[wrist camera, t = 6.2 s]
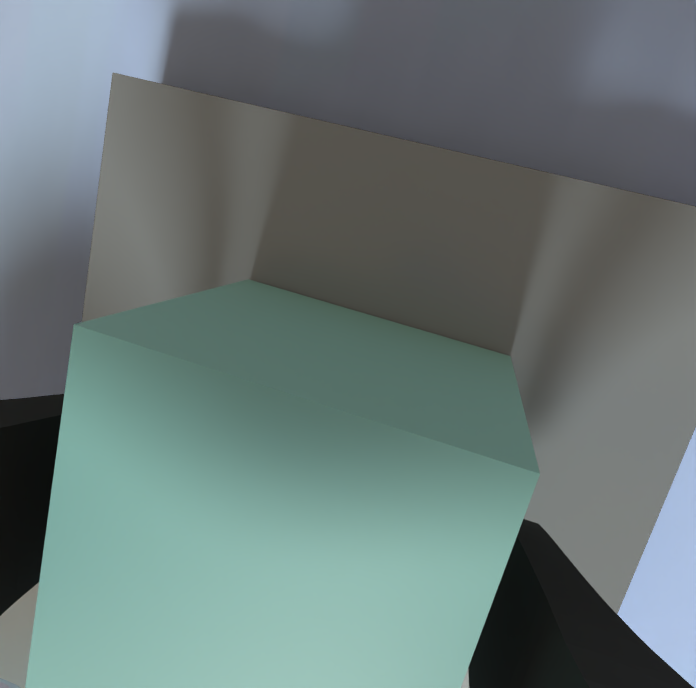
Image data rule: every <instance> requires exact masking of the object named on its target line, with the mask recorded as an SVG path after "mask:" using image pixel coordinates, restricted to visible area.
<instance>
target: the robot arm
mask: <svg viewBox="0 0 696 688" xmlns="http://www.w3.org/2000/svg"><path fill="white" fill-rule="evenodd" d="M63 401H64V394H60V395H50V396H40V397H31V398H20V399H7V400H0V616H1V615H2V614H3V613H4V612H5V611H6V610H7V609H8V608H9V607H11V606H12V605H13V604H14V603H15V602H16V601H17V600H18V599H20V598H21V597H22V596H23V595H24V594H26V593H27V592H28V591H29V590H30V589H32V588H33V587H34V586H35V585H36V584H37V583H39V580H40V572H41V565H42V557H43V550H44V542H45V535H46V528H47V520H48V513H49V505H50V498H51V490H52V483H53V475H54V468H55V460H56V453H57V445H58V438H59V431H60V423H61V416H62V408H63ZM468 673H469V688H694V687H692V686H691V685H690V684H689V683H688V682H687V681H686V680H684V679H683V678H682V677H681V676H680V675H679V674H678V673H677V672H676V671H674V670H673V669H672V668H671V667H670V666H669V665H668V664H667V663H666V662H665V661H663V660H662V659H661V658H660V657H659V656H658V655H657V654H656V653H655V652H654V651H652V650H651V649H650V648H649V647H648V646H647V645H646V644H645V643H644V642H643V641H642V640H641V639H640V638H639V637H638V636H637V635H636V634H635V633H634V632H633V631H632V630H631V629H630V628H629V627H628V625H627V624H626V623H625V622H624V621H623V620H622V619H621V618H620V617H619V616H618V615H617V614H616V613H615V612H614V611H613V610H612V609H611V608H610V606H609V605H608V604H607V603H606V602H605V601H604V600H603V599H602V597H601V596H600V595H599V594H598V593H597V592H596V591H595V590H594V588H593V587H592V586H591V585H590V584H589V583H588V581H587V580H586V579H585V578H584V577H583V575H582V574H581V573H580V572H579V571H578V569H577V568H576V567H575V566H574V565H573V563H572V562H571V561H570V560H569V558H568V557H567V556H566V555H565V554H564V552H563V551H562V550H561V549H560V547H559V546H558V545H557V544H556V543H555V541H554V540H553V539H552V538H551V537H550V535H549V534H548V533H547V532H546V531H545V530H544V529H543V528H542V527H541V526H540V525H539V524H538V523H535V522H532V521H529V520H525V519H523V521H522V524H521V527H520V529H519V532H518V535H517V538H516V540H515V543H514V546H513V548H512V551H511V554H510V556H509V559H508V562H507V565H506V567H505V570H504V573H503V575H502V578H501V581H500V583H499V586H498V589H497V591H496V594H495V597H494V600H493V602H492V605H491V608H490V610H489V613H488V616H487V618H486V621H485V624H484V626H483V629H482V632H481V635H480V637H479V640H478V643H477V645H476V648H475V651H474V653H473V656H472V659H471V662H470V664H469V667H468ZM0 688H20V687H19V686H18V685H16V684H13V683H11V682H9V681H6V680H4V679H1V678H0Z"/></svg>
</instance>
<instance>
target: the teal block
mask: <svg viewBox="0 0 696 688" xmlns="http://www.w3.org/2000/svg"><path fill="white" fill-rule="evenodd" d="M539 476H540V472H539V468H538V464H537V460H536V456H535V452H534V448H533V444H532V440H531V436H530V432H529V428H528V424H527V420H526V416H525V412H524V408H523V404H522V400H521V396H520V392H519V388H518V384H517V380H516V376H515V372H514V368H513V364H512V360H511V356H508V355H505V354H502V353H498V352H495V351H491V350H488V349H484V348H481V347H478V346H474V345H471V344H467V343H464V342H461V341H457V340H454V339H450V338H447V337H444V336H440V335H437V334H433V333H430V332H426V331H423V330H420V329H416V328H413V327H409V326H406V325H403V324H399V323H396V322H392V321H389V320H386V319H382V318H379V317H375V316H372V315H368V314H365V313H362V312H358V311H355V310H351V309H348V308H345V307H341V306H338V305H334V304H331V303H328V302H324V301H321V300H317V299H314V298H311V297H307V296H304V295H300V294H297V293H293V292H290V291H287V290H283V289H280V288H276V287H273V286H270V285H266V284H263V283H259V282H256V281H253V280H249V279H248V280H244V281H240V282H236V283H232V284H228V285H224V286H220V287H217V288H213V289H209V290H205V291H201V292H197V293H193V294H189V295H186V296H182V297H178V298H174V299H170V300H166V301H162V302H158V303H155V304H151V305H147V306H143V307H139V308H135V309H131V310H127V311H124V312H120V313H116V314H112V315H108V316H104V317H100V318H96V319H93V320H89V321H85V322H81V323H77V324H74V326H73V333H72V341H71V348H70V356H69V363H68V371H67V378H66V386H65V393H64V401H63V408H62V416H61V423H60V431H59V438H58V445H57V453H56V460H55V468H54V475H53V483H52V490H51V498H50V505H49V513H48V520H47V528H46V535H45V542H44V550H43V557H42V565H41V572H40V580H39V587H38V595H37V602H36V610H35V617H34V625H33V632H32V640H31V647H30V654H29V662H28V669H27V677H26V684H25V688H461V686H462V683H463V680H464V678H465V675H466V672H467V670H468V667H469V664H470V662H471V659H472V656H473V653H474V651H475V648H476V645H477V643H478V640H479V637H480V635H481V632H482V629H483V626H484V624H485V621H486V618H487V616H488V613H489V610H490V608H491V605H492V602H493V600H494V597H495V594H496V591H497V589H498V586H499V583H500V581H501V578H502V575H503V573H504V570H505V567H506V565H507V562H508V559H509V556H510V554H511V551H512V548H513V546H514V543H515V540H516V538H517V535H518V532H519V529H520V527H521V524H522V521H523V519H524V516H525V513H526V511H527V508H528V505H529V503H530V500H531V497H532V494H533V492H534V489H535V486H536V484H537V481H538V478H539Z"/></svg>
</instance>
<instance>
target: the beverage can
mask: <svg viewBox="0 0 696 688" xmlns="http://www.w3.org/2000/svg"><path fill="white" fill-rule="evenodd" d="M38 587H39V583H37V584H36V585H35V586H34V587H33V588H32V589H30V590H29V591H28V592H27V593H26V594H24V595H23V596H22V597H21V598H20V599H18V600H17V601H16V602H15V603H14V604H13V605H12V606H11V607H9V608H8V609H7V610H6V611H5V612H4V613H3V614H2V615H1V616H0V678H1V679H4V680H6V681H9V682H11V683H13V684H16V685H18V686H19V687H20V688H25V684H26V677H27V669H28V662H29V654H30V647H31V640H32V632H33V625H34V617H35V610H36V602H37V595H38Z"/></svg>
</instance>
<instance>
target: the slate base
mask: <svg viewBox="0 0 696 688" xmlns="http://www.w3.org/2000/svg"><path fill="white" fill-rule="evenodd" d="M248 279H249V280H253V281H256V282H259V283H263V284H266V285H270V286H273V287H276V288H280V289H283V290H287V291H290V292H293V293H297V294H300V295H304V296H307V297H311V298H314V299H317V300H321V301H324V302H328V303H331V304H334V305H338V306H341V307H345V308H348V309H351V310H355V311H358V312H362V313H365V314H368V315H372V316H375V317H379V318H382V319H386V320H389V321H392V322H396V323H399V324H403V325H406V326H409V327H413V328H416V329H420V330H423V331H426V332H430V333H433V334H437V335H440V336H444V337H447V338H450V339H454V340H457V341H461V342H464V343H467V344H471V345H474V346H478V347H481V348H484V349H488V350H491V351H495V352H498V353H502V354H505V355H508V356H511V360H512V364H513V368H514V372H515V376H516V380H517V384H518V388H519V392H520V396H521V400H522V404H523V408H524V412H525V416H526V420H527V424H528V428H529V432H530V436H531V440H532V444H533V448H534V452H535V456H536V460H537V464H538V468H539V472H540V476H539V478H538V481H537V484H536V486H535V489H534V492H533V494H532V497H531V500H530V503H529V505H528V508H527V511H526V513H525V516H524V519H525V520H529V521H532V522H535V523H538V524H539V525H540V526H541V527H542V528H543V529H544V530H545V531H546V532H547V533H548V534H549V535H550V537H551V538H552V539H553V540H554V541H555V543H556V544H557V545H558V546H559V547H560V549H561V550H562V551H563V552H564V554H565V555H566V556H567V557H568V558H569V560H570V561H571V562H572V563H573V565H574V566H575V567H576V568H577V569H578V571H579V572H580V573H581V574H582V575H583V577H584V578H585V579H586V580H587V581H588V583H589V584H590V585H591V586H592V587H593V588H594V590H595V591H596V592H597V593H598V594H599V595H600V596H601V597H602V599H603V600H604V601H605V602H606V603H607V604H608V605H609V606H610V608H611V609H612V610H613V611H614V612H615V613H616V614H617V613H618V611H619V609H620V606H621V604H622V601H623V599H624V597H625V594H626V592H627V589H628V587H629V585H630V582H631V580H632V578H633V575H634V573H635V570H636V568H637V566H638V563H639V561H640V558H641V556H642V554H643V551H644V549H645V547H646V544H647V542H648V539H649V537H650V535H651V532H652V530H653V528H654V525H655V523H656V520H657V518H658V516H659V513H660V511H661V508H662V506H663V504H664V501H665V499H666V497H667V494H668V492H669V489H670V487H671V485H672V482H673V480H674V477H675V475H676V473H677V470H678V468H679V466H680V463H681V461H682V458H683V456H684V454H685V451H686V449H687V446H688V444H689V442H690V439H691V437H692V435H693V432H694V430H695V427H696V206H692V205H687V204H683V203H679V202H674V201H670V200H666V199H661V198H657V197H653V196H648V195H644V194H640V193H635V192H631V191H626V190H622V189H618V188H613V187H609V186H605V185H600V184H596V183H592V182H587V181H583V180H579V179H574V178H570V177H565V176H561V175H557V174H552V173H548V172H544V171H539V170H535V169H531V168H526V167H522V166H518V165H513V164H509V163H504V162H500V161H496V160H491V159H487V158H483V157H478V156H474V155H470V154H465V153H461V152H457V151H452V150H448V149H443V148H439V147H435V146H430V145H426V144H422V143H417V142H413V141H409V140H404V139H400V138H396V137H391V136H387V135H382V134H378V133H374V132H369V131H365V130H361V129H356V128H352V127H348V126H343V125H339V124H335V123H330V122H326V121H321V120H317V119H313V118H308V117H304V116H300V115H295V114H291V113H287V112H282V111H278V110H274V109H269V108H265V107H260V106H256V105H252V104H247V103H243V102H239V101H234V100H230V99H226V98H221V97H217V96H213V95H208V94H204V93H199V92H195V91H191V90H186V89H182V88H178V87H173V86H169V85H165V84H160V83H156V82H152V81H147V80H143V79H138V78H134V77H130V76H125V75H121V74H117V73H113V74H112V82H111V90H110V98H109V106H108V114H107V122H106V130H105V138H104V146H103V154H102V162H101V170H100V178H99V186H98V195H97V203H96V211H95V219H94V227H93V235H92V243H91V251H90V259H89V267H88V275H87V283H86V291H85V299H84V307H83V315H82V322H85V321H89V320H93V319H96V318H100V317H104V316H108V315H112V314H116V313H120V312H124V311H127V310H131V309H135V308H139V307H143V306H147V305H151V304H155V303H158V302H162V301H166V300H170V299H174V298H178V297H182V296H186V295H189V294H193V293H197V292H201V291H205V290H209V289H213V288H217V287H220V286H224V285H228V284H232V283H236V282H240V281H244V280H248ZM461 688H469V673H468V670H467V672H466V675H465V678H464V680H463V683H462V686H461Z"/></svg>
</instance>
